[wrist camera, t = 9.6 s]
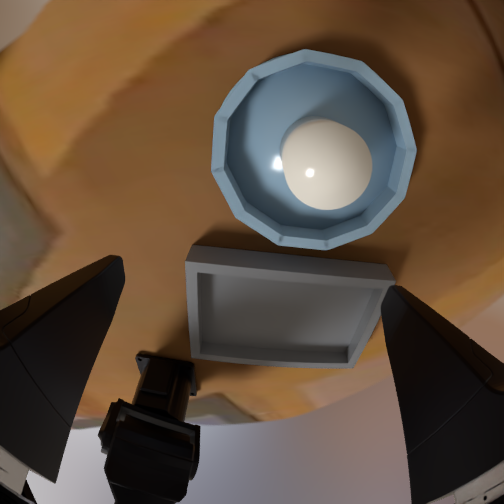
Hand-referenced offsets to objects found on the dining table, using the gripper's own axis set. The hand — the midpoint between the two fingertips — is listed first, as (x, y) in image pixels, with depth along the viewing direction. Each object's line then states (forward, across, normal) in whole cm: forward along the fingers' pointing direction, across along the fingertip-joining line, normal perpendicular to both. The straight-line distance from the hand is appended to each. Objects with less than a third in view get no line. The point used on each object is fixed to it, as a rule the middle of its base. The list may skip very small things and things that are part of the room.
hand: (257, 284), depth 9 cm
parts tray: (+11, -3, +10) cm, 15 cm away
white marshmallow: (+10, -3, -3) cm, 11 cm away
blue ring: (+11, -3, -3) cm, 11 cm away
